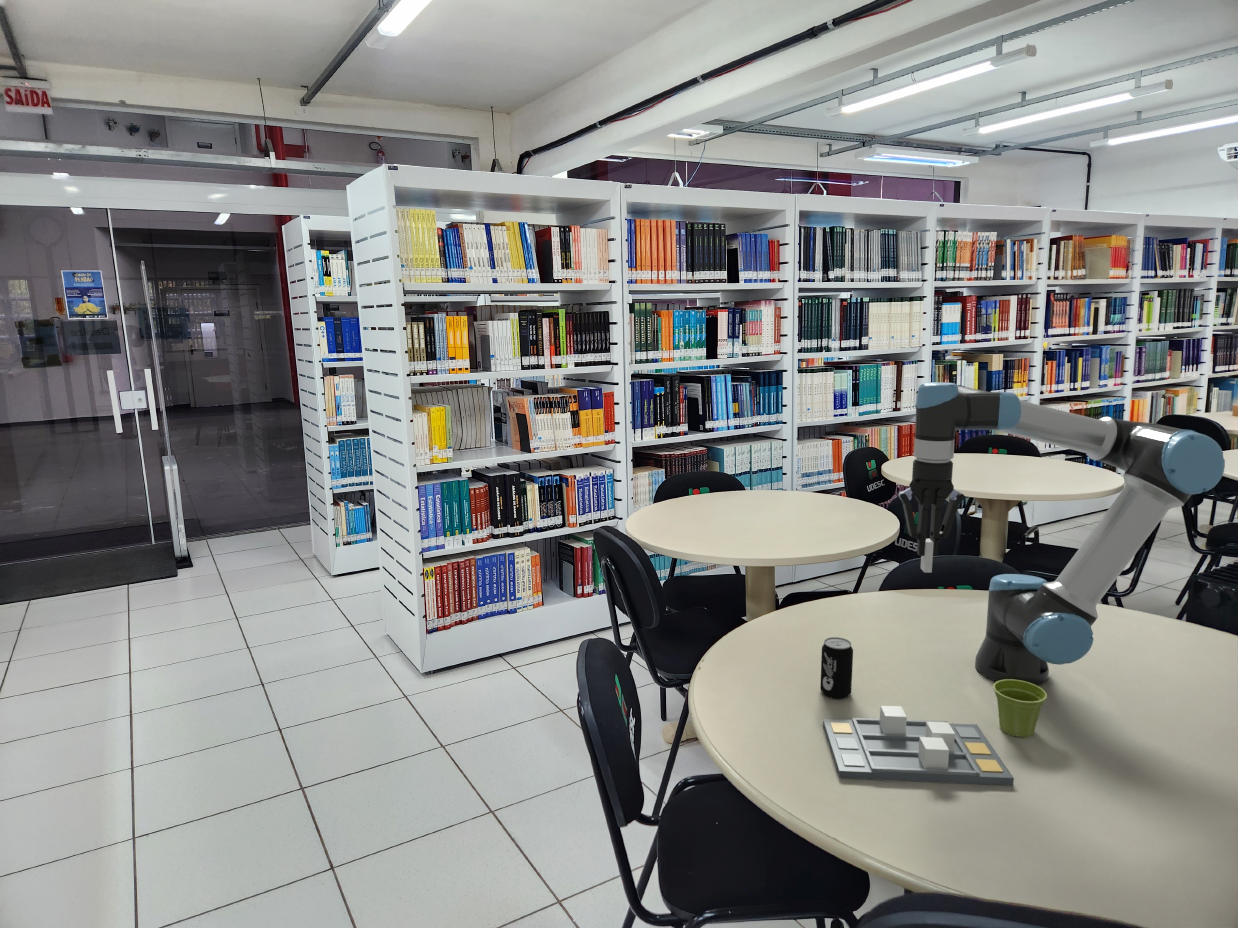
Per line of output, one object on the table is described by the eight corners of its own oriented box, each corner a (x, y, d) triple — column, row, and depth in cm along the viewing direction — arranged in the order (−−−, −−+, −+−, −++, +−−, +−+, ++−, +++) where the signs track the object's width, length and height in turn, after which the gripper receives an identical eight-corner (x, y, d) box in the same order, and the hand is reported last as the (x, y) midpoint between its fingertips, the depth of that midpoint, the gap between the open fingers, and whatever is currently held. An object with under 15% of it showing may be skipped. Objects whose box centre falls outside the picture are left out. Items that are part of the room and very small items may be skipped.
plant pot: (1022, 747, 146) (1026, 706, 145) (979, 725, 155) (983, 685, 153) (1053, 735, 151) (1057, 694, 149) (1010, 713, 159) (1013, 675, 157)
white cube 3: (940, 757, 141) (942, 737, 140) (947, 770, 137) (949, 749, 136) (918, 756, 141) (919, 736, 140) (924, 769, 137) (925, 748, 137)
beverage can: (852, 701, 165) (854, 649, 162) (821, 699, 166) (822, 647, 164) (849, 687, 171) (852, 637, 169) (819, 685, 172) (821, 635, 170)
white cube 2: (946, 741, 146) (948, 722, 145) (953, 753, 142) (955, 733, 141) (925, 740, 146) (926, 721, 146) (931, 752, 142) (932, 732, 142)
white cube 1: (900, 724, 152) (901, 706, 151) (905, 735, 148) (906, 716, 148) (879, 723, 153) (880, 705, 152) (884, 734, 149) (885, 715, 148)
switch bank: (976, 731, 152) (977, 721, 152) (1013, 785, 135) (1014, 774, 134) (822, 725, 155) (823, 716, 155) (839, 778, 138) (839, 767, 137)
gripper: (960, 455, 158) (952, 565, 162) (895, 455, 159) (889, 564, 164) (973, 462, 150) (964, 576, 155) (904, 462, 152) (898, 575, 156)
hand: (926, 570), depth 159 cm, fingers closed
